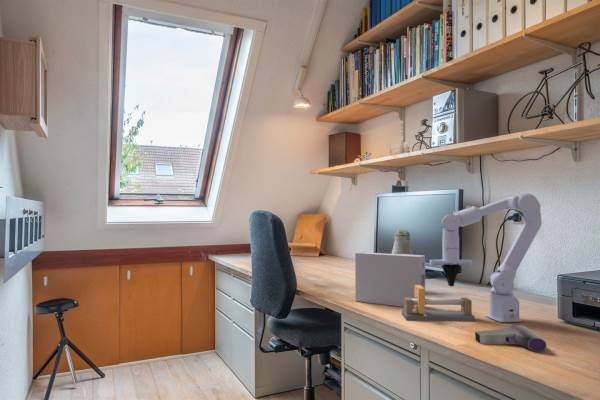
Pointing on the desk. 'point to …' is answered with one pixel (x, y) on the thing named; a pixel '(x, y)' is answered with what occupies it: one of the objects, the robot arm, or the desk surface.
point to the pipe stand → (439, 315)
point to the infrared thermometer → (512, 337)
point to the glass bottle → (402, 243)
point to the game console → (388, 277)
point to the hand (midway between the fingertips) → (451, 285)
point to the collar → (420, 298)
